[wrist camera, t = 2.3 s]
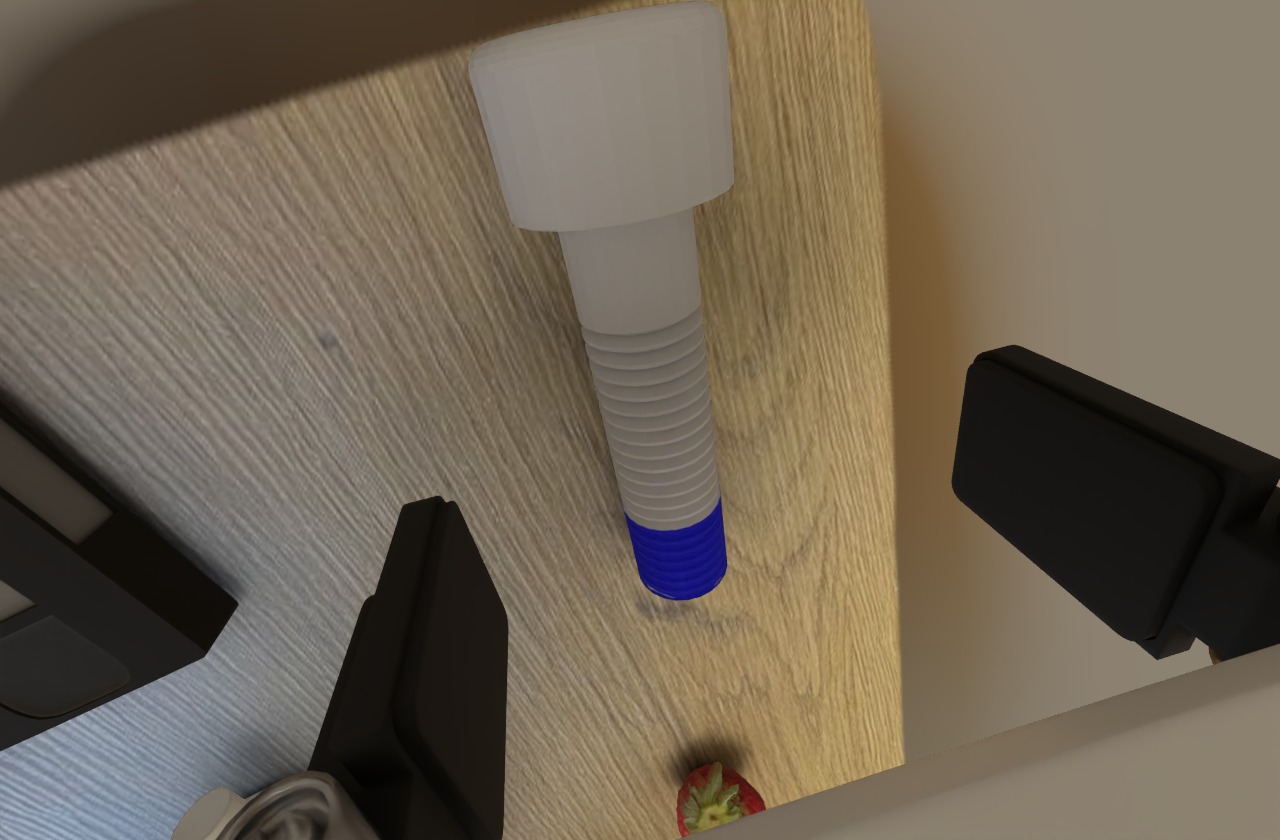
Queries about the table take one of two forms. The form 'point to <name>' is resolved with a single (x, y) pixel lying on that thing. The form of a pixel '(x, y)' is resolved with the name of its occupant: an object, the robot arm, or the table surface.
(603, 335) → the bolt
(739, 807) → the fruit
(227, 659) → the table surface
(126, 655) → the vhs tape
